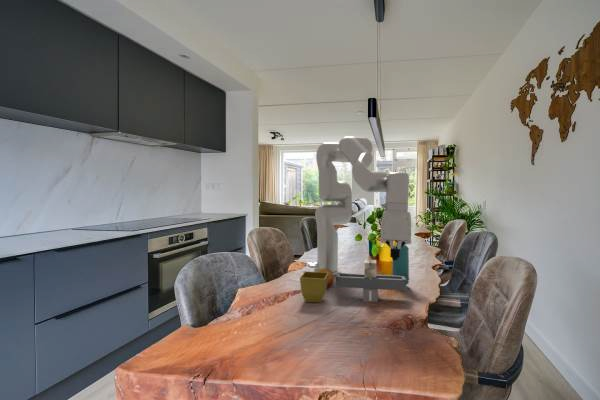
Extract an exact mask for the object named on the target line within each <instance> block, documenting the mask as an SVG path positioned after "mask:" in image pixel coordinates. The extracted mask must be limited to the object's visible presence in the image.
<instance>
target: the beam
mask: <svg viewBox="0 0 600 400" xmlns="http://www.w3.org/2000/svg"><path fill="white" fill-rule="evenodd" d="M335 288H347V289H349V288H351V289H362V301H363V302H371V303H374V302H375V303H378V302H379V296H378V295H379V290H385V291H386V290H388V291H402V292H403V291H404V292H405V291H406V292H407V285H406V278H405V276H394V275H392V274H391V275H390V274H376V278H371V277H369V278H367V277H364V273H350V272H349V273H345V272H341V273H337V275H335Z"/></svg>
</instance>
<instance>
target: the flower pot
mask: <svg viewBox="0 0 600 400" xmlns="http://www.w3.org/2000/svg"><path fill="white" fill-rule="evenodd" d="M299 282H300V291H301V295H302V297H303V299H304V301H305V302H306V303H316V304H317V303H318V304H319V303H322V301H323V299H324V297H325V295H326V291H327V288H328V287H327V282H328V273H325V272H314V271H304V272H303V273H302V274H301V275H300V276H299Z"/></svg>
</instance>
